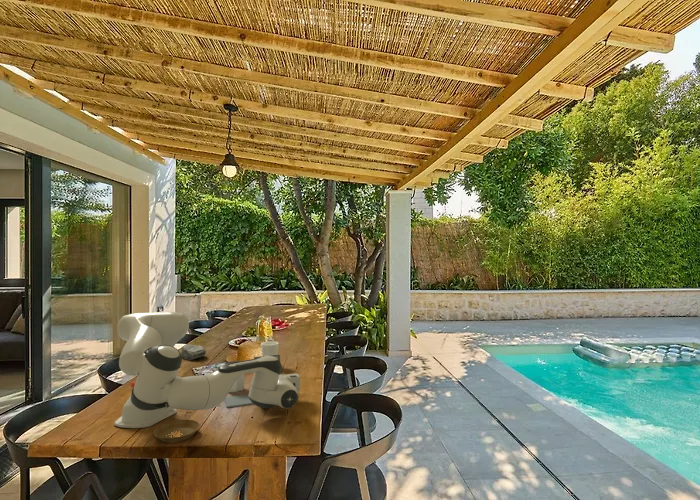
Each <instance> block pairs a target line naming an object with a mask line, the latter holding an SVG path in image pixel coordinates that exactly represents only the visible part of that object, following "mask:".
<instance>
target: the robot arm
mask: <svg viewBox="0 0 700 500" xmlns="http://www.w3.org/2000/svg"><path fill="white" fill-rule="evenodd" d="M189 327H190V320H189V318H188V317H187V315H186V314H184V313H181V312H175V311H161V312H159V311H156V312H155V311H153V312H135V313H129V314H126V315H123V316H122V317H121V318H120V319H119V321H118V322H117V325H116V333H117V335H118V337H119V338H120V339H121V340H122V341H125V342H126V343H125V344H124V346H123V347H122V349H121V352H120V356H119V360H118V366H119V369H120V370H121V372H122V373H123V374H125V375H127V376H130V377H136V376H137V377H136V380H135V381H131V382H130V384H129V385H130V388H132V390H131V393H130V396H129V398H127V401H126V402H125V403H124V405H123V406H122V410H121V411H122V412H121V416H120V417H118V418H117V419H116V420H115V421H114V424H113V425H114V426H116V427H119V428H125V429H126V428H127V429H140V428H141V429H143V428H149V427H151V426H153V425H155V424H157V423H158V422H161V421H162V420H164V419H167V418H168V417H170V416H172V415H174V414H176V413H177V412H178V411H177V410H181V411H203V410H204V411H205V410H211V409H214V408H216V407H218V406H220V405H221V404H222V403H223V402H225V400H224V399H225V398H226V397H228V394H229V393H230V392H229V391H230V389H231V387H232V386H233V384H234V382H235V381H236V380H237V379H238V378H239V377H240V376H241V375H244V376H245V375H248V374H253V376H252V378H251V381H250V388H249V392H248V394H249V395H248V397H249V399H250V401H251V402H252V403H253V404H252V405H254V406H256V407H258V408H263V409H271V408H274V407H276V406H278V407H280V408H282V409H287V410H288V409H291V408H293V407H294V406H295V405H296V404H297V402H298V400H299V392H300V389H301V377H300V374H298V373H289V374H285V373H282V370H283V365H282V362H281V360H280V361H279V359H278V358H276V357H273V356H262V355H261V356H262V357H261V356H258V357H259V358H256V359H254V358H252V359H246V360H241V361H240V360H239V361H240V362H234V363H229V364H225V363H224V364H222V365H220V366H219V367H218V368H217V369H216V370H214V371H212V372H210V373H208V374H204V375H201V374H200V375H191V376H189V375H188V376H183V377H181V376H179V375H177V374H178V372H179V369H180V368H181V366H182V362H183V361H182V360H183V358H182V355H181V352H180V350H179V349H177V347H174V346H175V345H176V344H177V343H178V342H179V341H180V340H181V339H183V338H184V337H185V336H186V335H187V333H188V331H189ZM280 373H281V375H280Z"/></svg>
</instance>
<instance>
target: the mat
mask: <svg viewBox="0 0 700 500" xmlns="http://www.w3.org/2000/svg"><path fill="white" fill-rule="evenodd" d="M248 395H249V393H248V394H241V395H232V396H226V398H225V399H224V402H225V405H226V408H228V409H229V408H237V407H243V406H244V407H245V406H250V405H251V406H253V405H254V404H253V403H252V402H251V401H250V399H249V397H248Z"/></svg>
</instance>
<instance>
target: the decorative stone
mask: <svg viewBox="0 0 700 500" xmlns="http://www.w3.org/2000/svg"><path fill="white" fill-rule="evenodd" d="M180 351H181V352H180V353H181V355H182V360H183V359H184V360H187V361H191V360H195V359H199V358H202V357H204V356H206V354H207V353H206V352H207V350H206V349H205V348H204V346H203V345H195V344H190V343H188V344H185V345H183V347H182V348H181V350H180Z"/></svg>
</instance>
